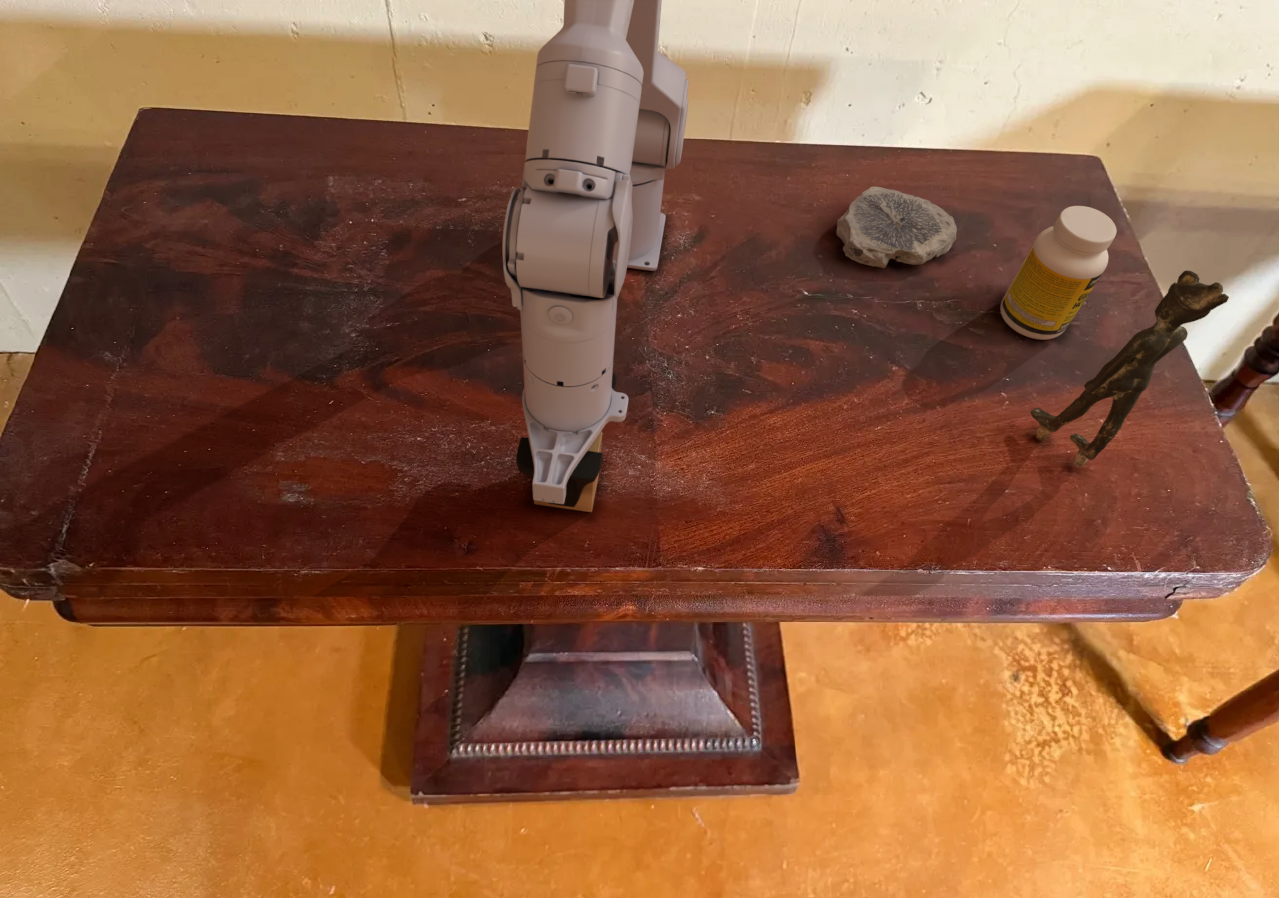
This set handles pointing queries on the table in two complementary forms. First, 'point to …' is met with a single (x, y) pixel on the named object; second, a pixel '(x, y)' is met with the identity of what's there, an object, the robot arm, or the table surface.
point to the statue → (1134, 364)
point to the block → (588, 491)
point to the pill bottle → (1058, 273)
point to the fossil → (894, 228)
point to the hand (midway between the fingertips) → (567, 474)
